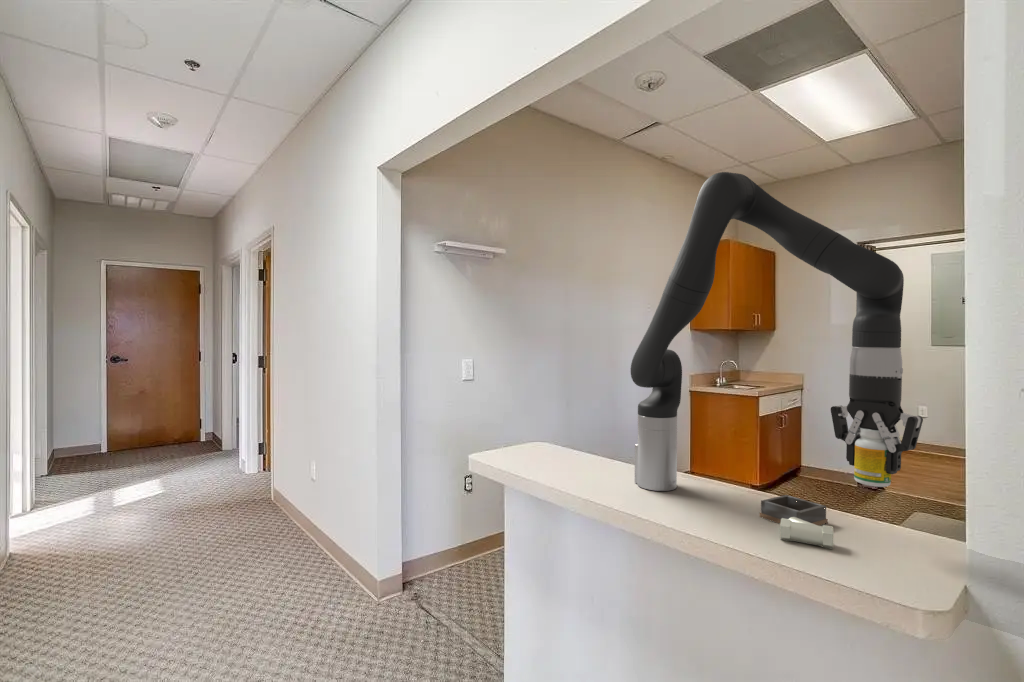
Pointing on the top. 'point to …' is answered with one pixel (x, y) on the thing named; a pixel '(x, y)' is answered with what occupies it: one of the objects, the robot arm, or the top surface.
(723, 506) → the top surface
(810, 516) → the square holder
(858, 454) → the supplement bottle
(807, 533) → the pipe fitting
